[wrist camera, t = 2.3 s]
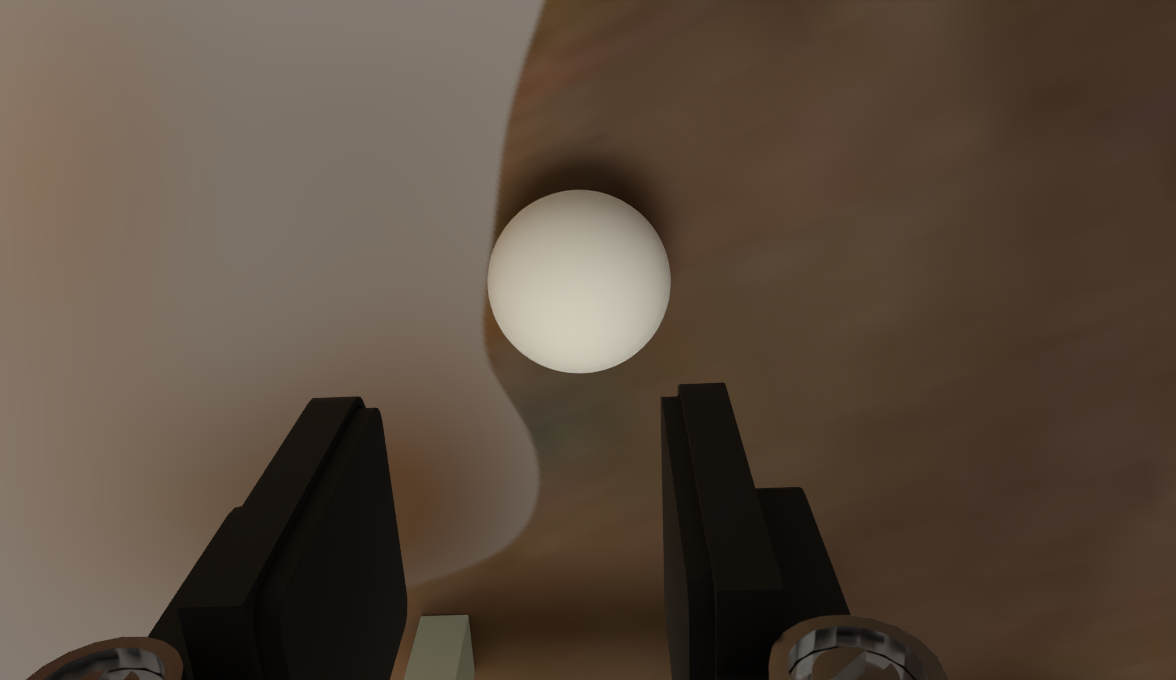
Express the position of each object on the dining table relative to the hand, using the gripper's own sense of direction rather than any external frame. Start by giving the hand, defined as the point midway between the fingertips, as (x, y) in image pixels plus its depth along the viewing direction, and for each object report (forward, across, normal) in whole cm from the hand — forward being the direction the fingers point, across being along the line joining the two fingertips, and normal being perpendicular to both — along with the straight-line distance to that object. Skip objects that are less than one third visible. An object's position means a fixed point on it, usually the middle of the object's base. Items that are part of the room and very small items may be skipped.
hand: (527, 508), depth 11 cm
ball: (+20, 0, +4) cm, 21 cm away
